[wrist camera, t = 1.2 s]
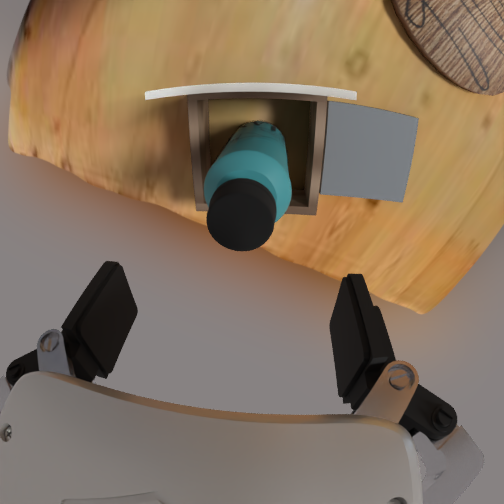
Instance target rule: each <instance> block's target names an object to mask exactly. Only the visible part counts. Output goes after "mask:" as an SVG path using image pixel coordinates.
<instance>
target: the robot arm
mask: <svg viewBox="0 0 504 504" xmlns="http://www.w3.org/2000/svg"><path fill="white" fill-rule="evenodd" d="M137 312H138V310H137V306H136V303H135V301H134V298H133V295H132V293H131V290H130V287H129V284H128V282H127V279H126V276H125V273H124V270H123V267H122V266H121V265H120V264H119V263H118V262H112V261H106V262H105V263H104V264H103V265H102V267H101V268H100V269H99V271H98V272H97V273H96V275H95V276H94V278H93V279H92V280H91V282H90V283H89V285H88V286H87V288H86V289H85V291H84V292H83V294H82V295H81V297H80V298H79V300H78V301H77V303H76V304H75V306H74V307H73V309H72V311H71V312H70V314H69V315H68V317H67V318H66V320H65V322H64V323H63V325H62V329H63V330H62V332H60V331H59V330H57V329H51V330H48V331H46V332H45V333H43V334H42V335H41V337H40V338H39V340H38V343H37V349H36V350H34V351H32V352H30V353H28V354H26V355H24V356H22V357H20V358H18V359H16V360H14V361H13V362H12V363H11V364H10V365H9V367H8V368H7V372H6V377H5V376H2V377H1V378H0V504H453V503H454V502H455V501H456V500H457V499H458V498H459V496H460V495H461V494H462V493H463V492H464V491H465V490H466V488H467V487H468V486H469V485H470V484H471V482H472V481H473V480H474V479H475V477H476V476H477V475H478V474H479V472H480V471H481V469H482V467H483V465H484V455H483V453H482V451H481V450H480V449H479V447H478V446H477V445H476V444H475V442H474V441H473V439H472V438H471V437H470V436H469V434H468V433H467V432H466V430H465V429H464V428H463V427H462V426H460V427H459V426H458V425H457V415H456V412H455V410H454V408H453V407H451V405H449V404H448V403H446V402H445V401H443V400H442V399H440V398H439V397H437V396H436V395H434V394H433V393H431V392H429V391H428V390H427V389H425V388H424V387H422V386H421V385H419V384H418V382H419V377H418V374H417V371H416V369H415V368H414V367H413V366H412V365H411V364H409V363H407V362H405V361H399V360H398V361H396V360H395V356H394V352H393V349H392V345H391V342H390V339H389V336H388V332H387V329H386V326H385V323H384V320H383V317H382V314H381V311H380V309H379V307H378V306H373V303H372V301H371V297H370V294H369V291H368V289H367V286H366V283H365V280H364V277H363V275H362V274H348V275H347V277H343V279H342V282H341V286H340V289H339V293H338V297H337V300H336V303H335V307H334V310H333V314H332V317H331V320H330V334H331V341H332V348H333V355H334V362H335V370H336V378H337V387H338V395H339V397H343V403H351V408H352V409H353V411H352V413H351V414H337V415H335V414H334V415H333V414H332V415H331V414H327V415H280V414H256V413H242V412H230V411H222V410H212V409H205V408H198V407H192V406H185V405H180V404H174V403H169V402H163V401H158V400H154V399H149V398H145V397H141V396H136V395H133V394H129V393H125V392H121V391H118V390H114V389H110V388H107V387H104V386H101V385H97V384H96V382H95V379H94V378H95V376H96V375H97V376H99V377H102V378H105V379H106V378H107V377H108V374H109V373H111V372H112V370H113V368H114V366H115V363H116V361H117V359H118V356H119V354H120V352H121V349H122V347H123V344H124V342H125V340H126V338H127V335H128V333H129V331H130V329H131V326H132V325H133V322H134V320H135V318H136V316H137ZM417 451H418V453H419V454H420V455H421V456H422V458H421V460H422V462H423V463H424V465H425V467H426V475H425V478H424V479H423V481H421V472H420V465H419V460H418V455H417Z"/></svg>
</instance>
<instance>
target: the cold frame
mask: <svg viewBox="0 0 504 504" xmlns="http://www.w3.org/2000/svg"><path fill="white" fill-rule="evenodd" d="M178 95H187V96H188V116H189V132H190V147H191V160H192V171H193V182H194V193H195V203H196V211H208V209H209V207H208V205H207V203H206V200H205V196H204V182H205V178H206V175H207V173H208V171H209V169H210V168H211V156H210V136H209V112H208V99H228V98H269V99H291V100H305V101H310V119H309V136H308V150H307V163H306V175H305V187H304V190H292V196H291V201H290V204H289V206H288V208H287V210H286V212H285V213H284V214H300V215H316V212H317V204H318V196H319V187H320V178H321V169H322V159H323V149H324V137H325V124H326V110H327V96H330V97H338V98H345V99H351V100H356V97H357V92H355V91H349V90H342V89H335V88H328V87H319V86H309V85H297V84H280V83H222V84H205V85H193V86H183V87H175V88H167V89H160V90H154V91H147V92H145V100H148V99H155V98H162V97H169V96H178Z"/></svg>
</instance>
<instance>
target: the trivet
mask: <svg viewBox="0 0 504 504" xmlns="http://www.w3.org/2000/svg"><path fill="white" fill-rule="evenodd" d="M391 2H392V4H393V7H394V10H395V13H396V15H397V17H398V18H399V20H400V22H401V24H402V26H403V27H404V29H405V31H406V33H407V35H408V36H409V38H410V39H411V40H412V41H413V43H414V44H415V45H416V47H417V48H418V49H419V51H420V52H421V54H422V55H423V56H424V57H425V58H426V59H427V60H428V61H429V62H430V63H431V64H432V65H433V66H434V67H435V68H436V69H437V70H438V72H439V73H441V74H442V75H443V76H445V77H446V78H448V79H449V80H450V81H452V82H453V83H454V84H456V85H457V86H459V87H462V88H464V89H466V90H469V91H471V92H473V93H478V94H485V95H496V94H500V93H503V92H504V0H391Z"/></svg>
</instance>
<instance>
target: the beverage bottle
mask: <svg viewBox="0 0 504 504" xmlns="http://www.w3.org/2000/svg"><path fill="white" fill-rule="evenodd" d="M262 121H263V120H262ZM262 121H254V122H251V121H250V123H247V124H245V125H243V126H240V127H239V129H238V128H237V129H238V130H237V131H236V133H235V134H234V135H233V134H232V136H233V137H232V136H231V137H232V138H231V137H230V138H231V140H230V139H229V140H228V142H229V143H228V142H227V143H226V144H227V145H225V146H226V147H225V148H224V150H223V151H222V153H221V154H220V155H218V156H219V157H218V158H217V157H216V158H217V159H215V160H216V162H214V164H212V166H211V168H210V169H209V171H208V173H207V175H206V178H205V182H204V196H205V200H206V203H207V205H208V207H209V209H208V212H207V226H208V230H209V232H210V234H211V235H212V237H213V238H214V239H215V240H216V241H217V242H218V243H219V244H220V245H222V246H224V247H226V248H228V249H231V250H235V251H250V250H254V249H256V248H258V247H260V246H262V245H263V244H264V243H265V242H266V241H267V240H268V239H269V237H270V236H271V234H272V232H273V229H274V223H275V222H276V221H278V220H279V219H280V218H281V217H282V216H283V214H284V213H285V212H286V210H287V208H288V206H289V204H290V201H291V196H292V188H291V182H290V178H289V172H288V165H287V161H288V160H287V156H288V154H286V152H287V151H286V150H287V149H286V148H285V138H284V136H282V134H281V132H280V131H279V130H278V129H277V128H276V127H275V126H273V125H274V124H272V125H271V123H270V124H269V123H267V122H265V121H264V122H262ZM286 145H287V144H286ZM222 149H223V148H222ZM222 149H221V150H222Z"/></svg>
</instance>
